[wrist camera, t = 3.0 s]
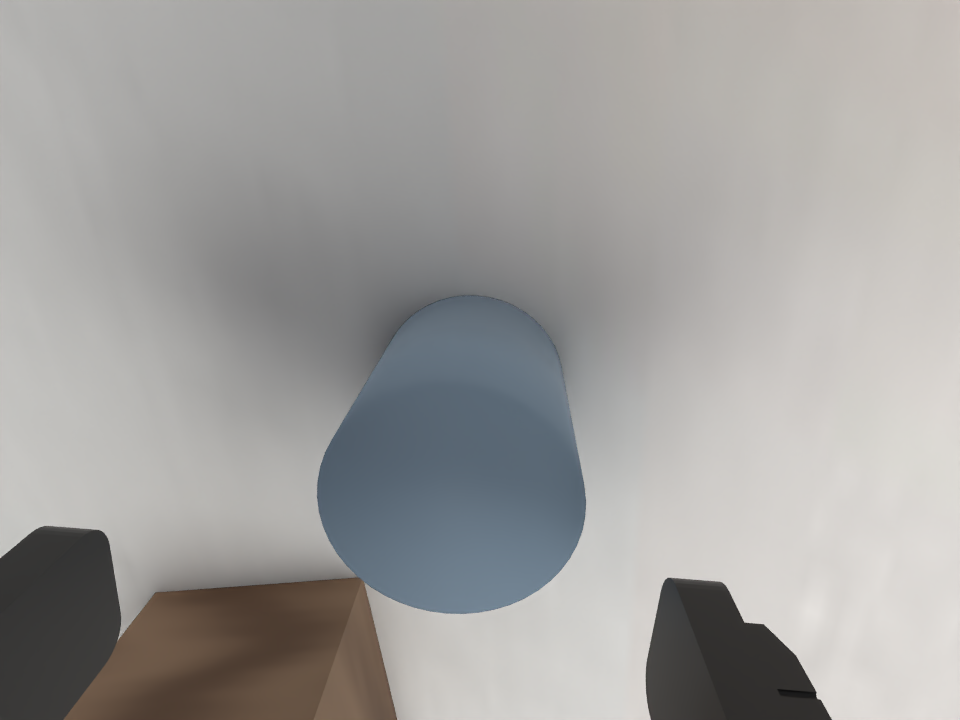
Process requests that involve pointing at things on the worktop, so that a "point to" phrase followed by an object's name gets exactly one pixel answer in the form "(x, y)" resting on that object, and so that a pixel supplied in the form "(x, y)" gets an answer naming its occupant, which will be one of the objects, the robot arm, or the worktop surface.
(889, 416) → the worktop surface
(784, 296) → the worktop surface
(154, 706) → the tower base
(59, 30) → the worktop surface
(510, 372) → the blue grey cylinder
